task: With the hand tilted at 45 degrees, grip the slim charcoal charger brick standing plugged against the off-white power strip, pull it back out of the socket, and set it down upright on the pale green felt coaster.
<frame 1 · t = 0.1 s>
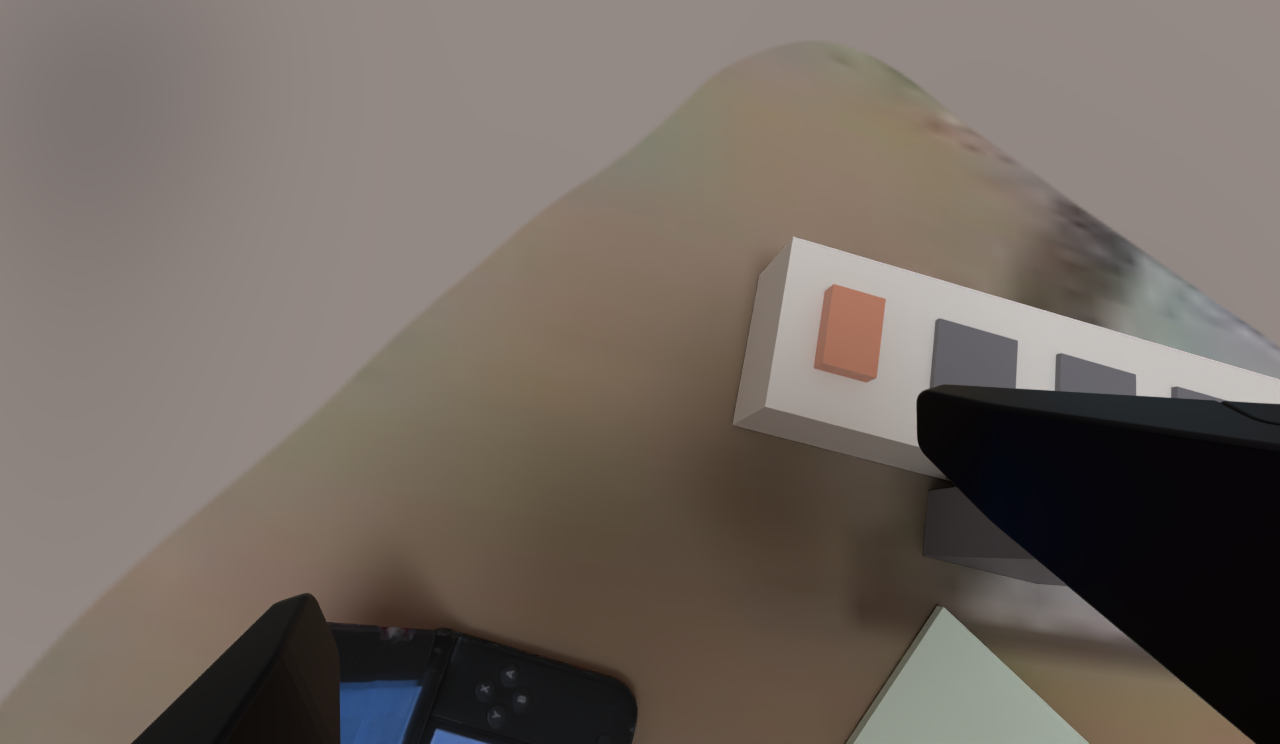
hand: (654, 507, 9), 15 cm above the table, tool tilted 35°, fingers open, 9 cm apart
charger brick: (982, 536, 26), on the table
power strip: (990, 413, 27), on the table
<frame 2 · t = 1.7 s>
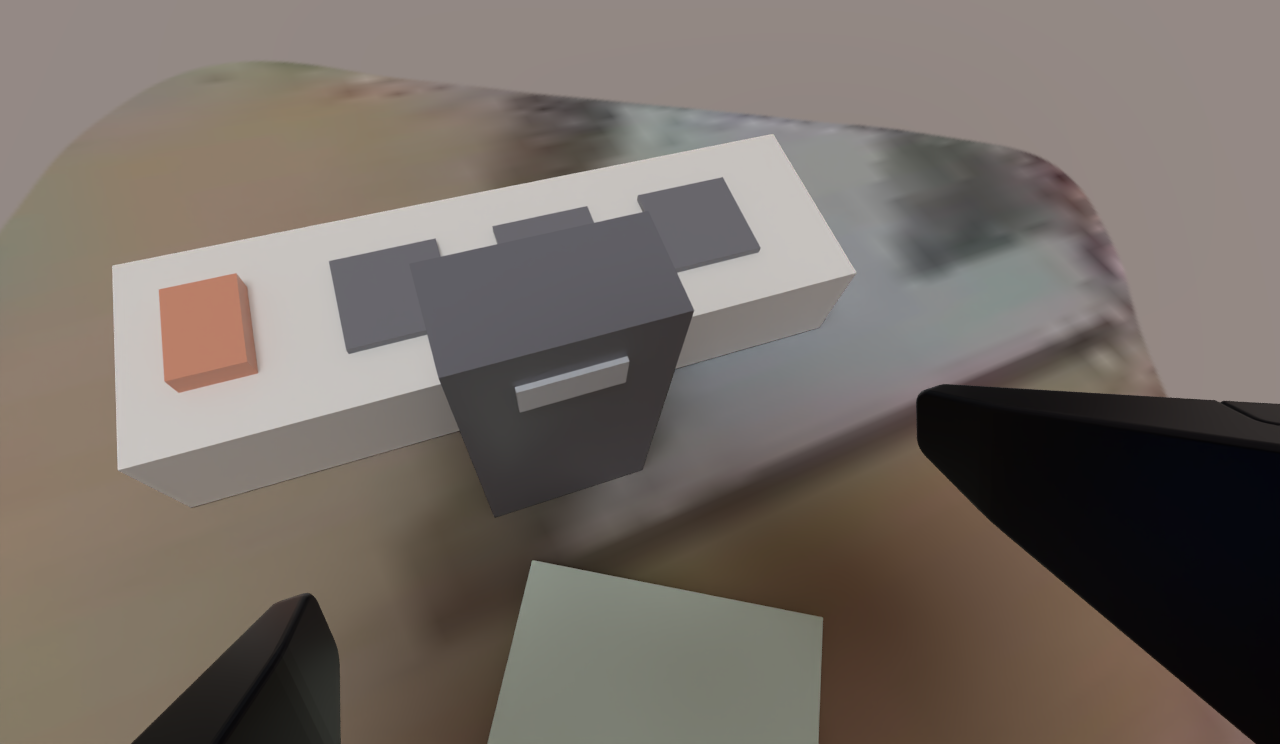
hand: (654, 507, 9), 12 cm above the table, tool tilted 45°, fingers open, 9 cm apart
charger brick: (558, 457, 21), on the table
power strip: (516, 327, 24), on the table
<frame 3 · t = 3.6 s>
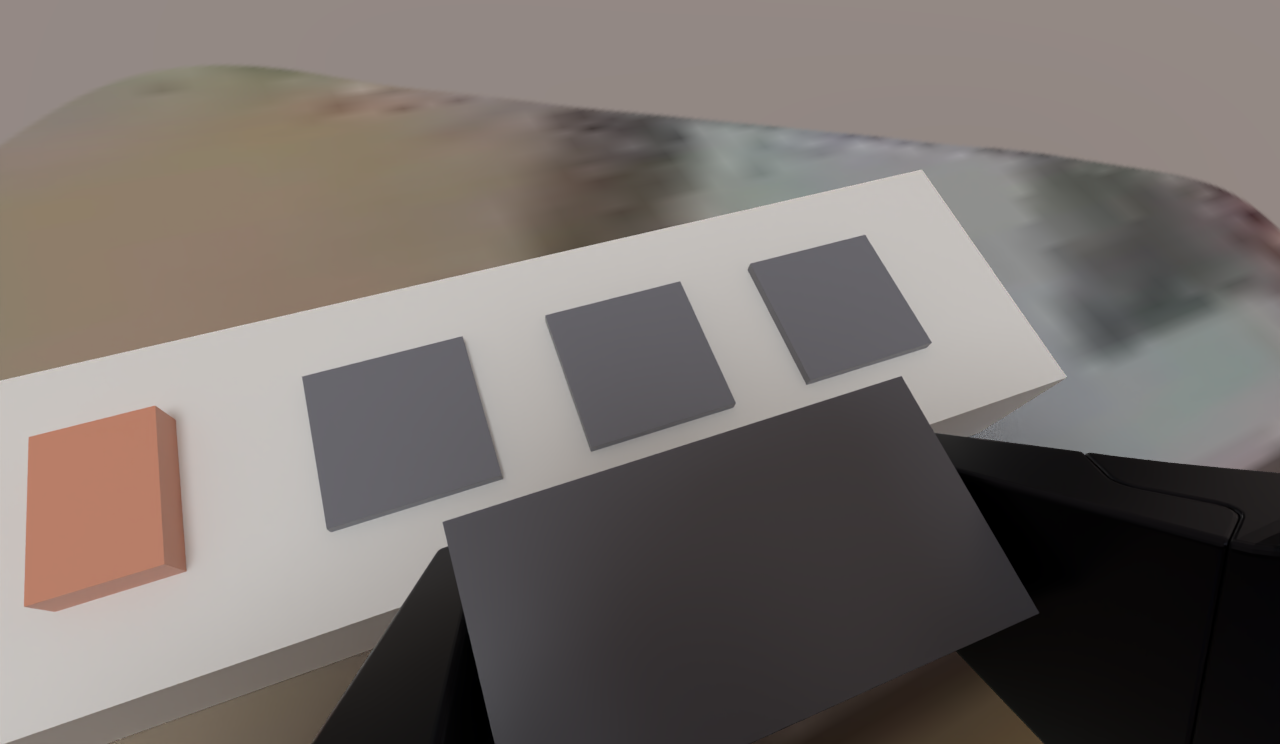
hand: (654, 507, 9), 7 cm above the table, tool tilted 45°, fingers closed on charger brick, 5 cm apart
charger brick: (637, 643, 15), on the table, touching gripper
power strip: (570, 441, 17), on the table
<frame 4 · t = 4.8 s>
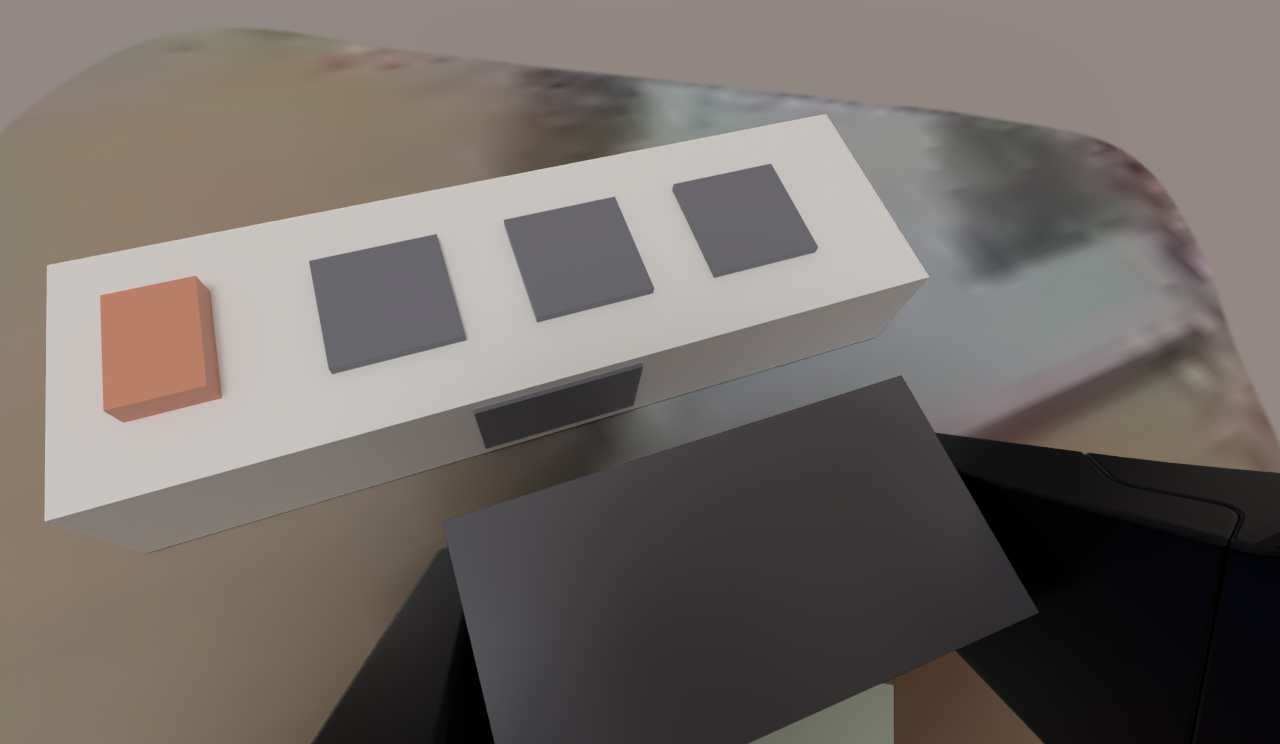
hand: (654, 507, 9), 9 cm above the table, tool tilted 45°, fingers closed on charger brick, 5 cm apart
charger brick: (637, 642, 15), point 2 cm above the table, touching gripper
power strip: (530, 337, 20), on the table
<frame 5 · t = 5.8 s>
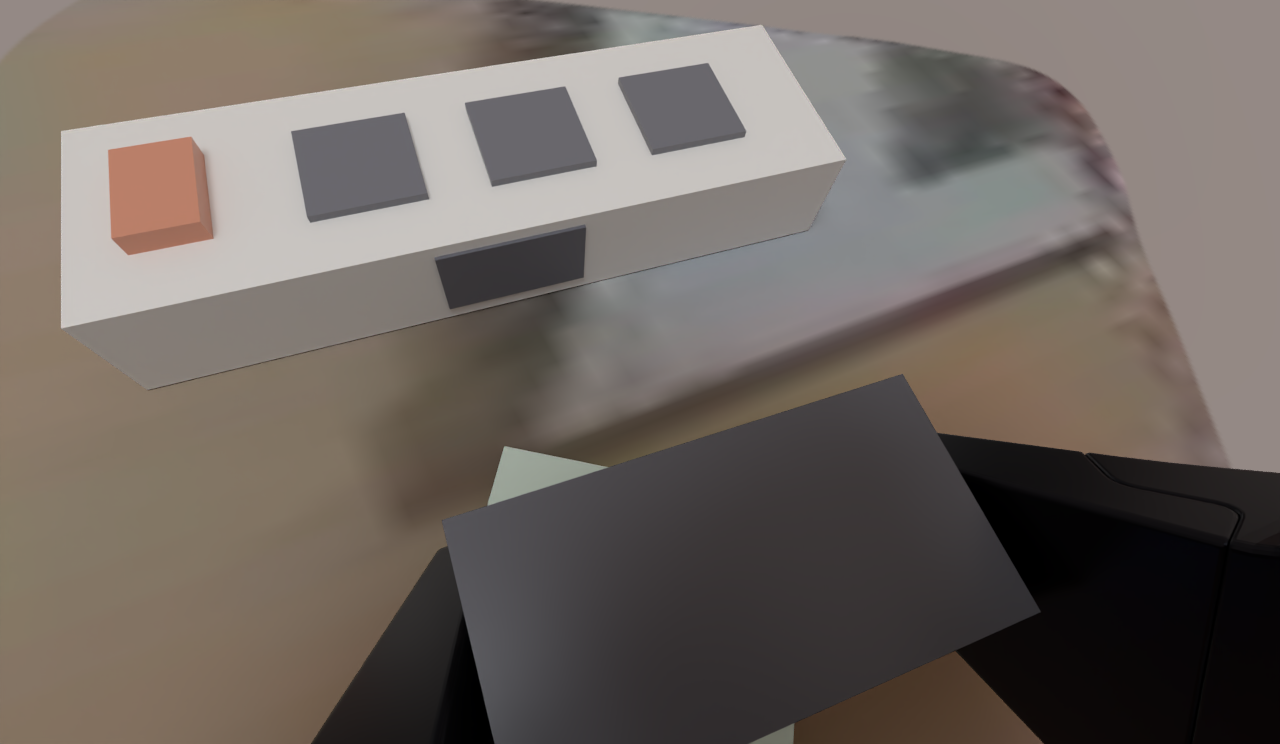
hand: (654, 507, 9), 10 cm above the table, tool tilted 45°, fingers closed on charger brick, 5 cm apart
felt coaster: (626, 642, 17), on the table
charger brick: (637, 641, 15), point 2 cm above the table, touching gripper
power strip: (493, 223, 23), on the table
when the fingers open (8 cm above the table, at t = 6.4 s): charger brick stays where it is, resting on felt coaster.
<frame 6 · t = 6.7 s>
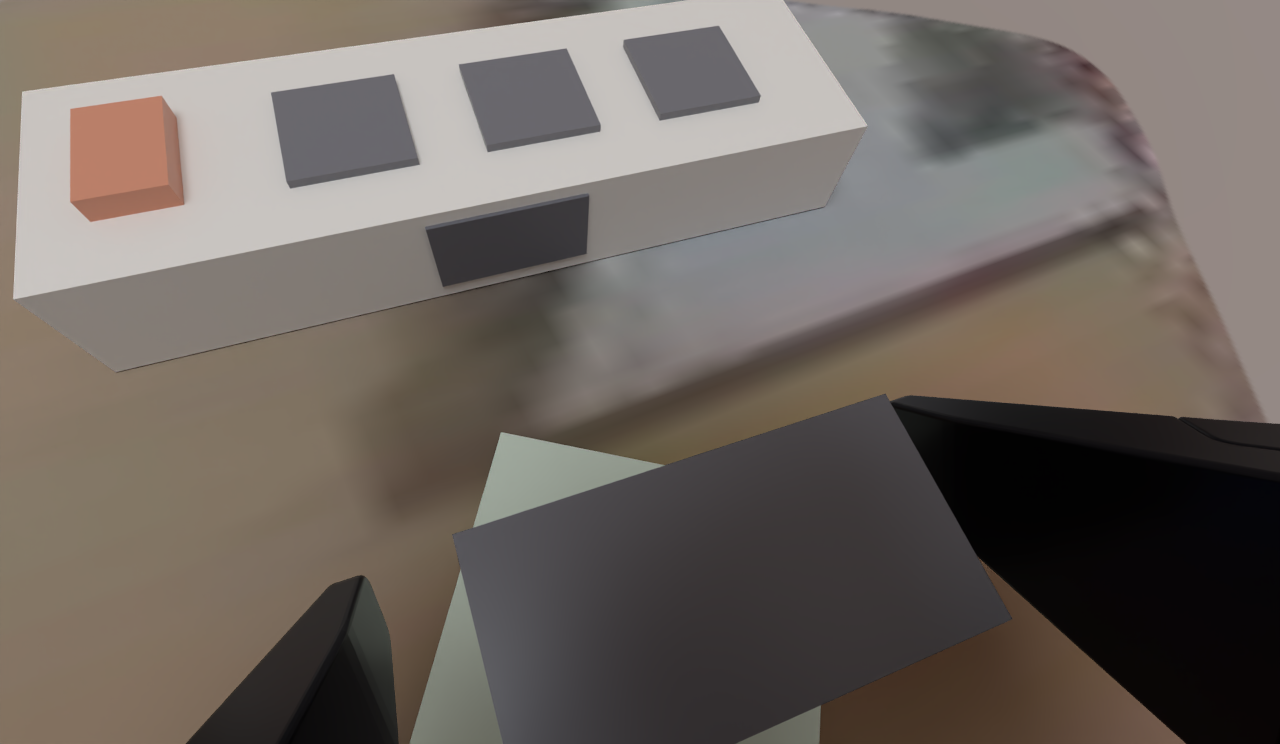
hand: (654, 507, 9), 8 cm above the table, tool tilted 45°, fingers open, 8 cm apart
felt coaster: (634, 645, 16), on the table
charger brick: (636, 644, 15), resting on felt coaster
power strip: (490, 198, 21), on the table
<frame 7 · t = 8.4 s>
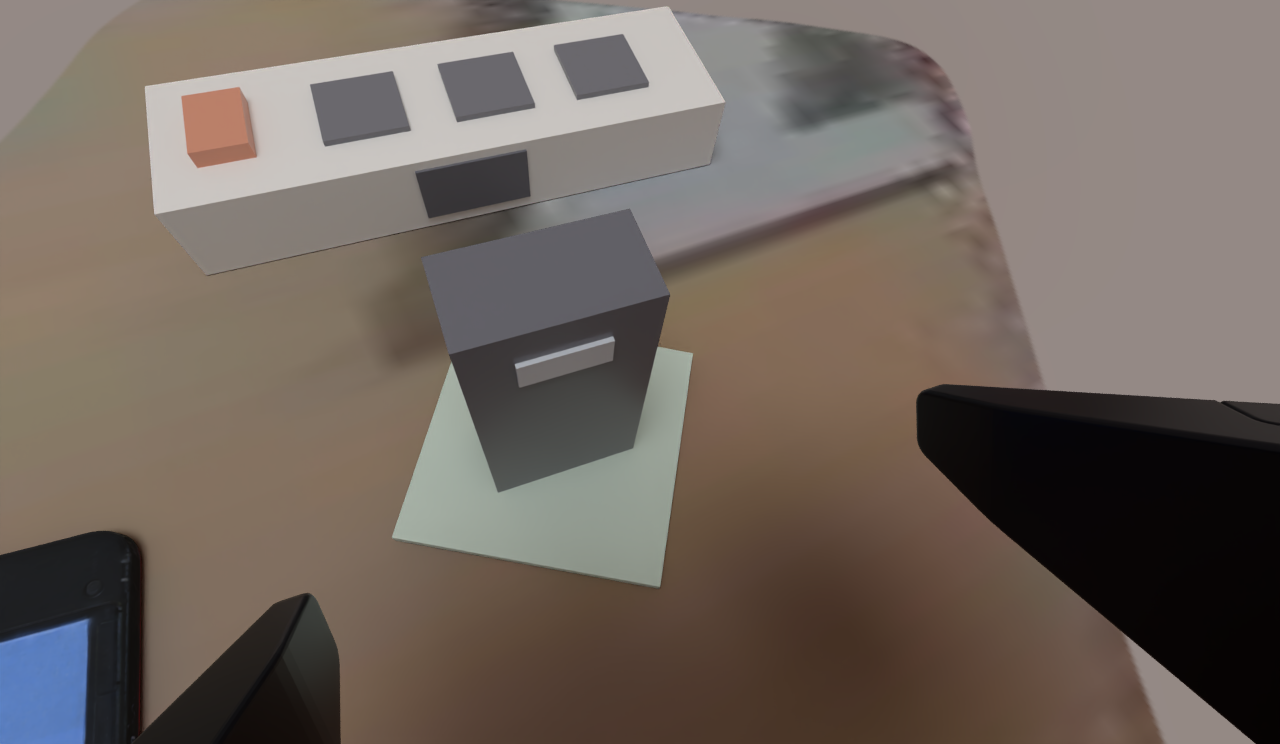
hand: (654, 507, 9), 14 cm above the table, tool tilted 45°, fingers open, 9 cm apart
felt coaster: (556, 441, 24), on the table
charger brick: (556, 437, 23), resting on felt coaster
power strip: (463, 160, 29), on the table
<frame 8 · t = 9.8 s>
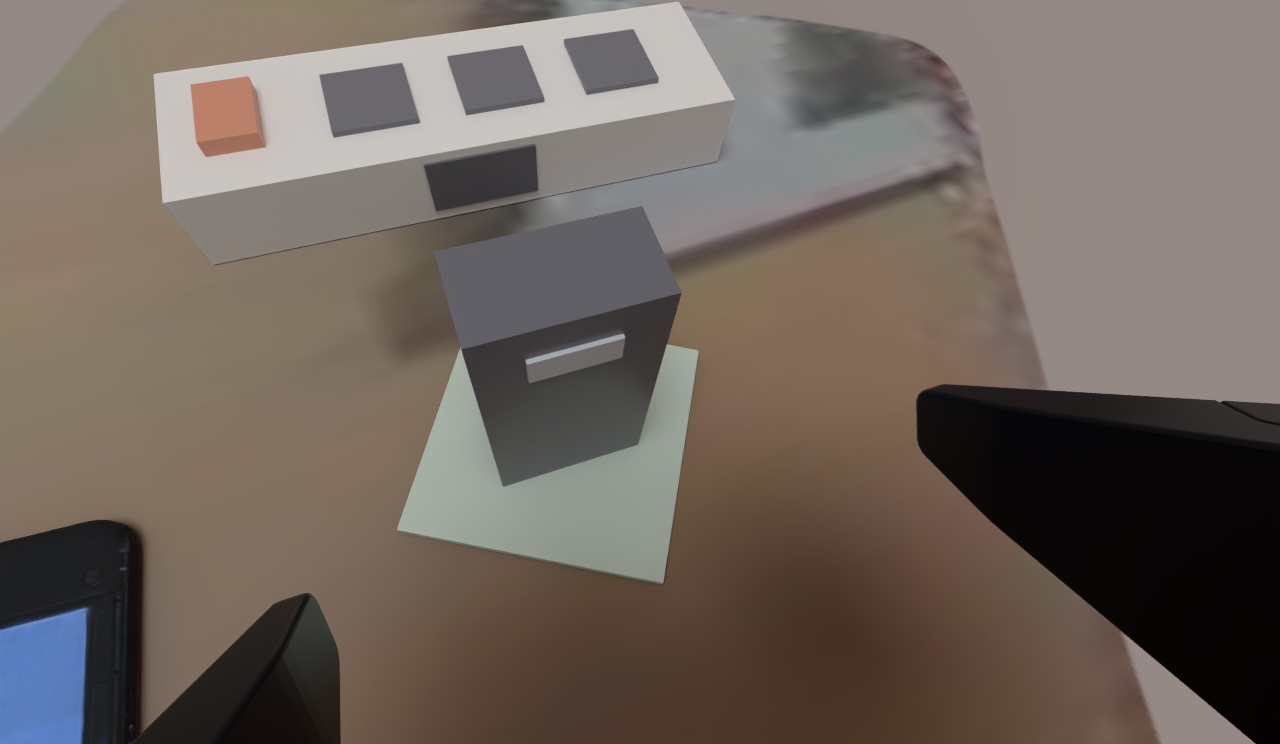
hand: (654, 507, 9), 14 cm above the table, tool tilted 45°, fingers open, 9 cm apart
felt coaster: (561, 436, 24), on the table
charger brick: (561, 432, 23), resting on felt coaster
power strip: (470, 153, 29), on the table
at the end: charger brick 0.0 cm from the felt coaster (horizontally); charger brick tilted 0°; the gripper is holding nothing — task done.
